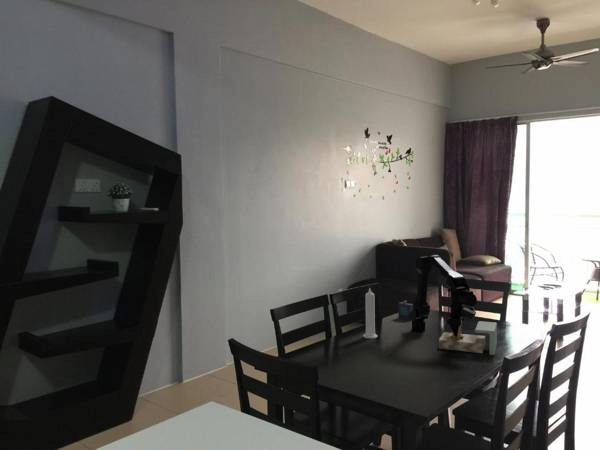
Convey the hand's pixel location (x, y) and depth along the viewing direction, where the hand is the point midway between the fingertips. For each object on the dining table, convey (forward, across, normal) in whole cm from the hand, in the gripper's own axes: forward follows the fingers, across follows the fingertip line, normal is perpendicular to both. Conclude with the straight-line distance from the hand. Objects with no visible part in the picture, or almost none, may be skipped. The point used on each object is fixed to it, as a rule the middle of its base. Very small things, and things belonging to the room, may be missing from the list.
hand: (456, 335), depth 234 cm
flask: (+5, +42, +34) cm, 54 cm away
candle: (+5, 0, +42) cm, 42 cm away
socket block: (+5, 0, -3) cm, 6 cm away
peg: (+3, 0, 0) cm, 3 cm away
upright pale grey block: (+5, 0, -13) cm, 14 cm away
